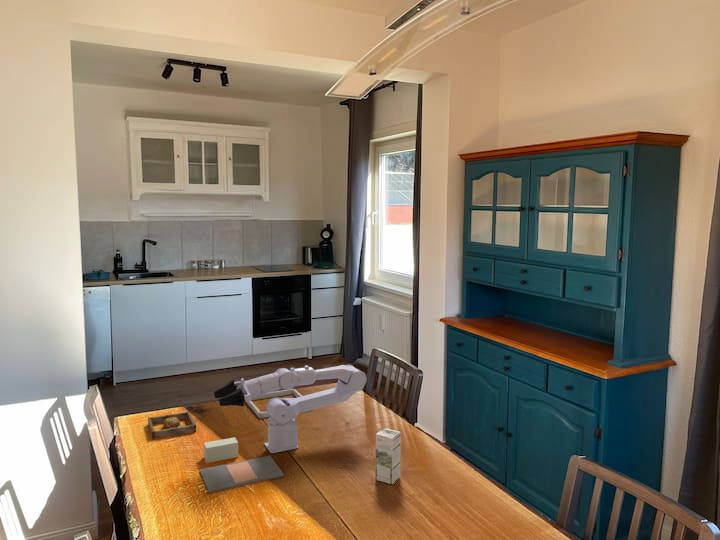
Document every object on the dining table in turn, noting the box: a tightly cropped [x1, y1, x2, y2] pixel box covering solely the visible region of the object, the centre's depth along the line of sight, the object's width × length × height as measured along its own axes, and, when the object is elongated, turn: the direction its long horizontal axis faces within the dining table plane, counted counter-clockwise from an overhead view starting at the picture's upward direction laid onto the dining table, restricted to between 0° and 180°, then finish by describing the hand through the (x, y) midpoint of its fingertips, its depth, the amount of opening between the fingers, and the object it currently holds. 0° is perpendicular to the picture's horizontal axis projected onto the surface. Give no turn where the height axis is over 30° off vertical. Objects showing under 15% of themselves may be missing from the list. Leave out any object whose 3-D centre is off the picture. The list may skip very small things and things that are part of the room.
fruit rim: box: [147, 411, 197, 440], centre depth 197 cm, size 15×15×2 cm
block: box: [203, 437, 239, 464], centre depth 174 cm, size 10×4×5 cm, turn 116°
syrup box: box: [374, 427, 402, 485], centre depth 160 cm, size 6×6×14 cm
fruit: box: [162, 417, 185, 429], centre depth 198 cm, size 8×8×4 cm
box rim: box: [245, 388, 303, 419], centre depth 221 cm, size 22×22×2 cm
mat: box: [199, 455, 285, 494], centre depth 164 cm, size 22×14×1 cm, turn 117°
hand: (216, 398), depth 171 cm, fingers open, 7 cm apart
